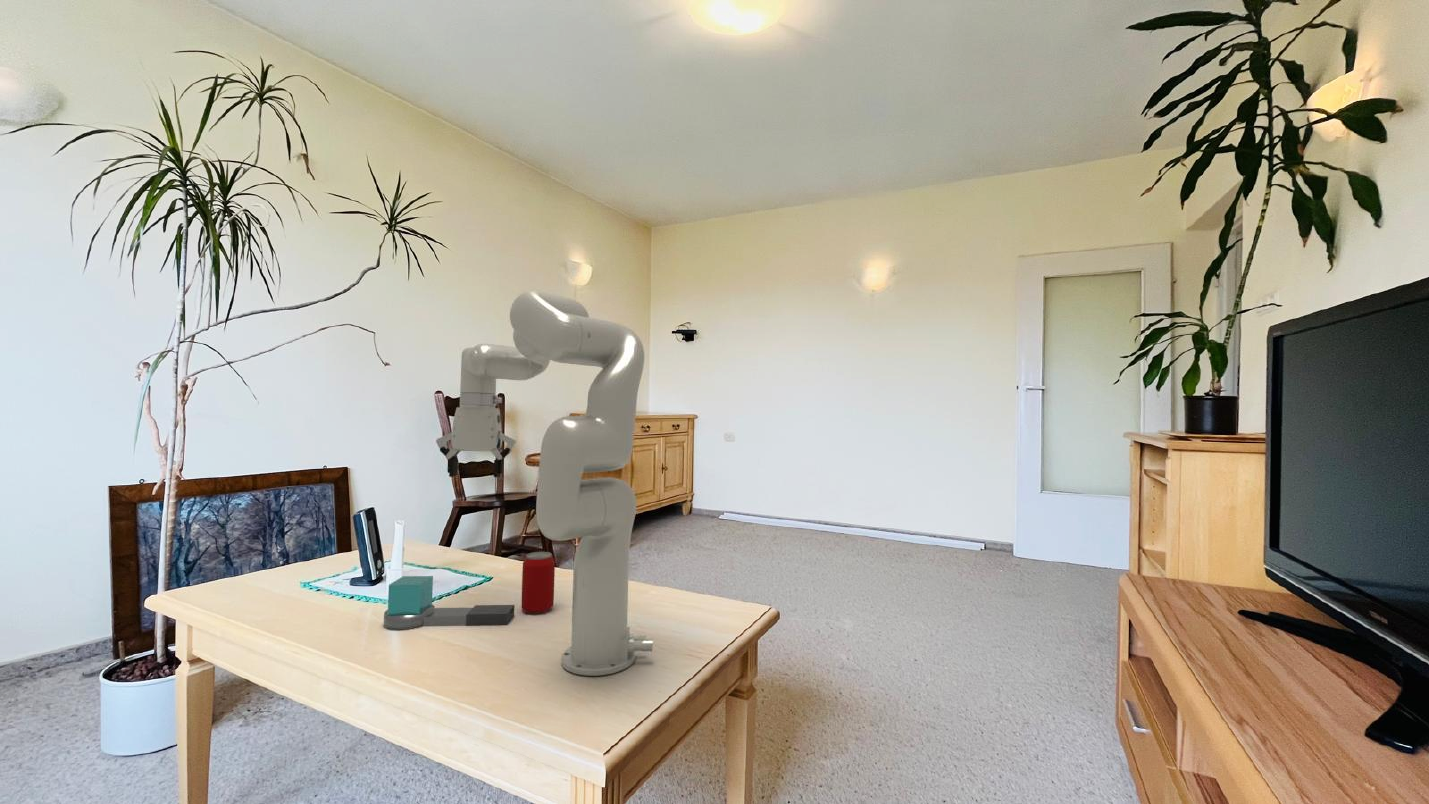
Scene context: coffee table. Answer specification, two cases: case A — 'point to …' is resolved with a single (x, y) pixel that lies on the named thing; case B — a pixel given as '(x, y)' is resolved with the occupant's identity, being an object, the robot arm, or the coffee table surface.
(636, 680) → the coffee table surface
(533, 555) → the beverage can
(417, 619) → the ratchet
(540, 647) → the coffee table surface
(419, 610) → the teal cube
